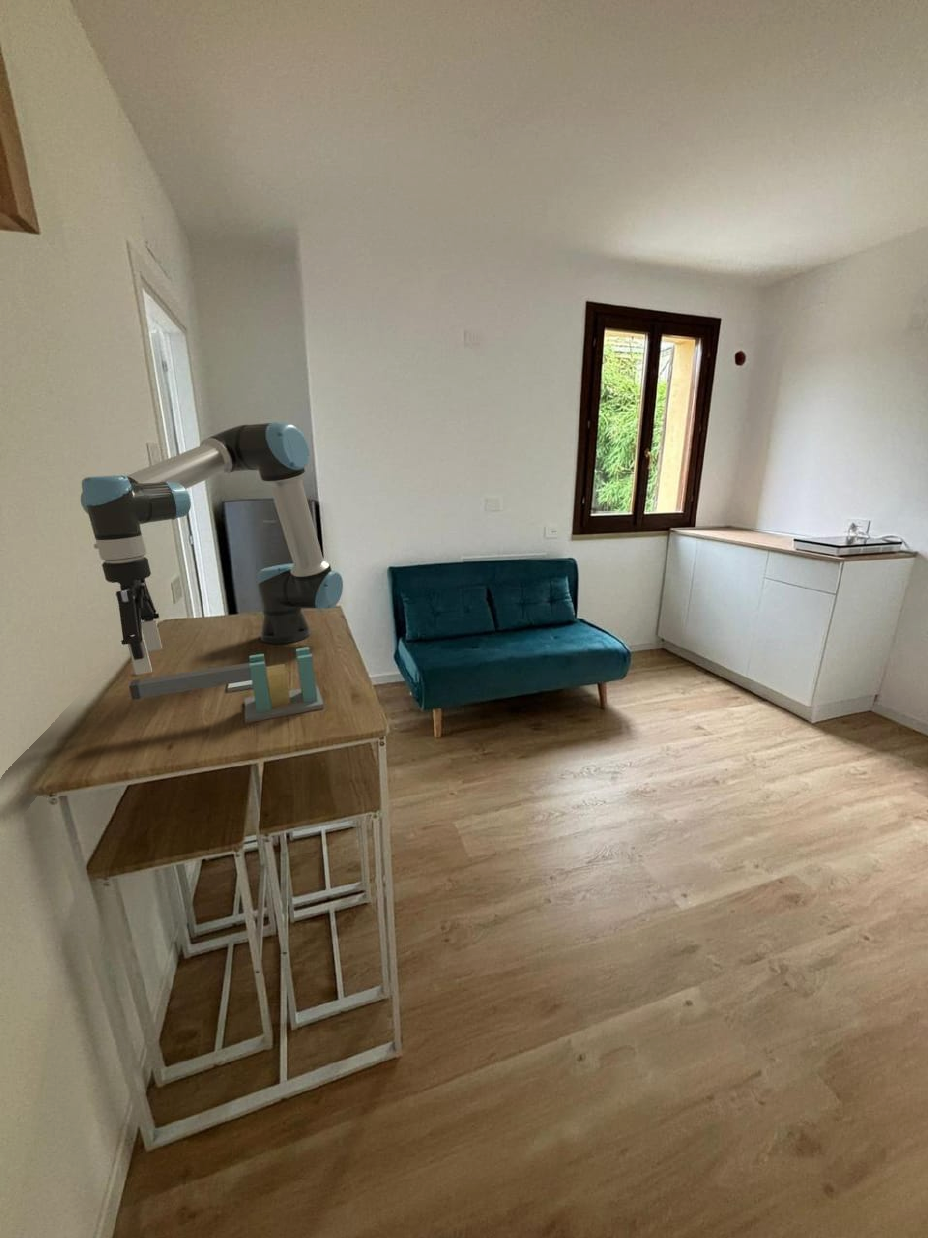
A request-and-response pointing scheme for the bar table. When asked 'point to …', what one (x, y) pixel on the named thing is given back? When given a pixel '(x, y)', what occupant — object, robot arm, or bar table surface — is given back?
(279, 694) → the block
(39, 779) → the bar table surface
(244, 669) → the shaft
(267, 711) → the block
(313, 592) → the robot arm
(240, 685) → the hard drive
